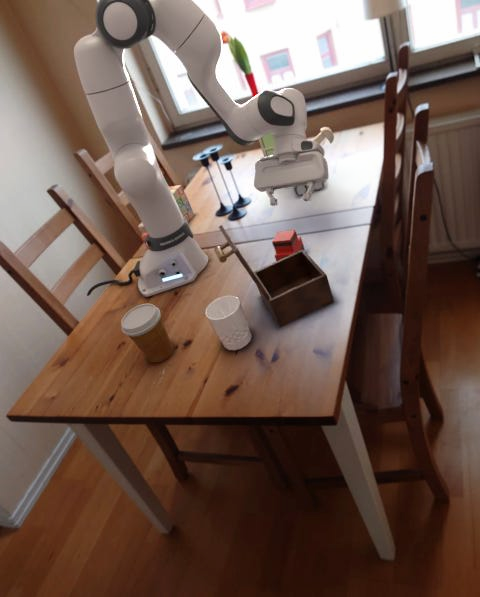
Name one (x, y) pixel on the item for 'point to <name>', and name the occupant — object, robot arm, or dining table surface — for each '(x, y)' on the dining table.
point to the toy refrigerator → (267, 145)
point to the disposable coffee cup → (147, 331)
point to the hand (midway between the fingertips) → (290, 202)
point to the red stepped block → (287, 244)
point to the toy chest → (294, 287)
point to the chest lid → (223, 258)
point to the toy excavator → (319, 138)
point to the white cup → (229, 322)
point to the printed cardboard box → (182, 205)
